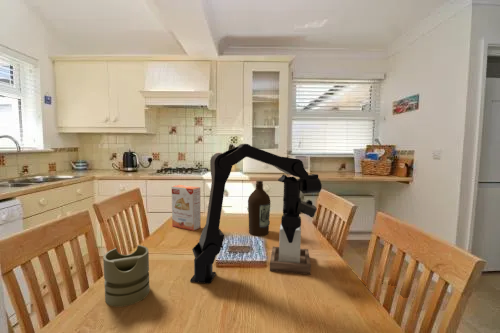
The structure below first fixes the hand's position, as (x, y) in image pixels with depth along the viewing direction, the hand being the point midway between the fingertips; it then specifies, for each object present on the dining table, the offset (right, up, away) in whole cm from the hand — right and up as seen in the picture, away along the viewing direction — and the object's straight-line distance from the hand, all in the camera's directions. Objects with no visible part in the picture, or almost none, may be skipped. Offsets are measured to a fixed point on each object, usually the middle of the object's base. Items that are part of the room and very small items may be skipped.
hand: (290, 237), depth 91 cm
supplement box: (0, -9, +1) cm, 9 cm away
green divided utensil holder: (-49, -11, -18) cm, 53 cm away
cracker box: (-47, -6, +39) cm, 61 cm away
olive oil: (-10, -7, +32) cm, 34 cm away
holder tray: (0, -9, +1) cm, 10 cm away
